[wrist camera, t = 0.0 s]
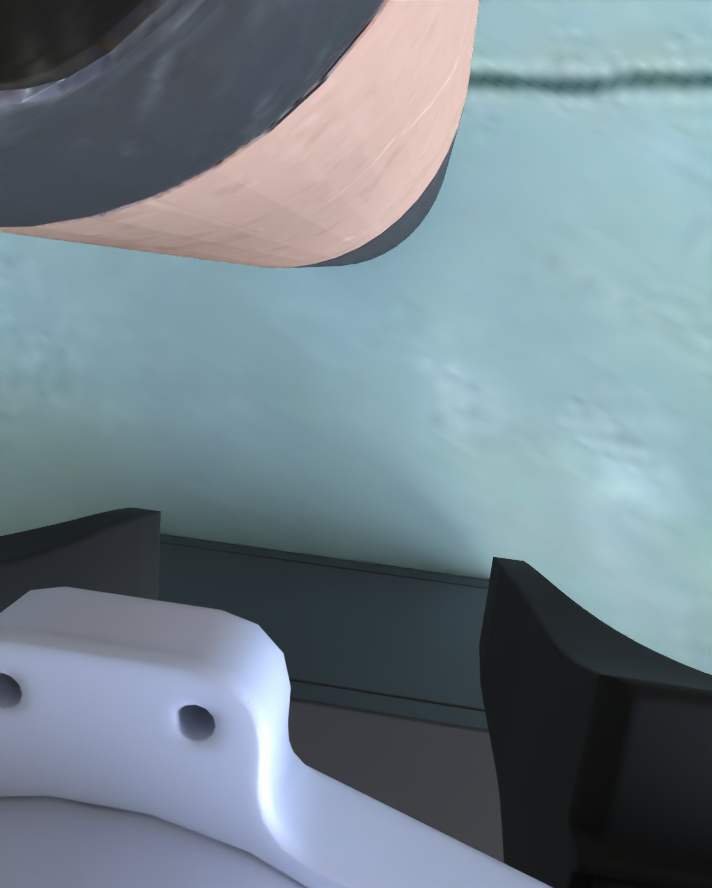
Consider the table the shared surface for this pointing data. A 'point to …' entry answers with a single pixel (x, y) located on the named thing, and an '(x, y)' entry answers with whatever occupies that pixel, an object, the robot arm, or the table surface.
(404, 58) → the travel mug
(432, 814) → the charcoal grey case
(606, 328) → the table surface
